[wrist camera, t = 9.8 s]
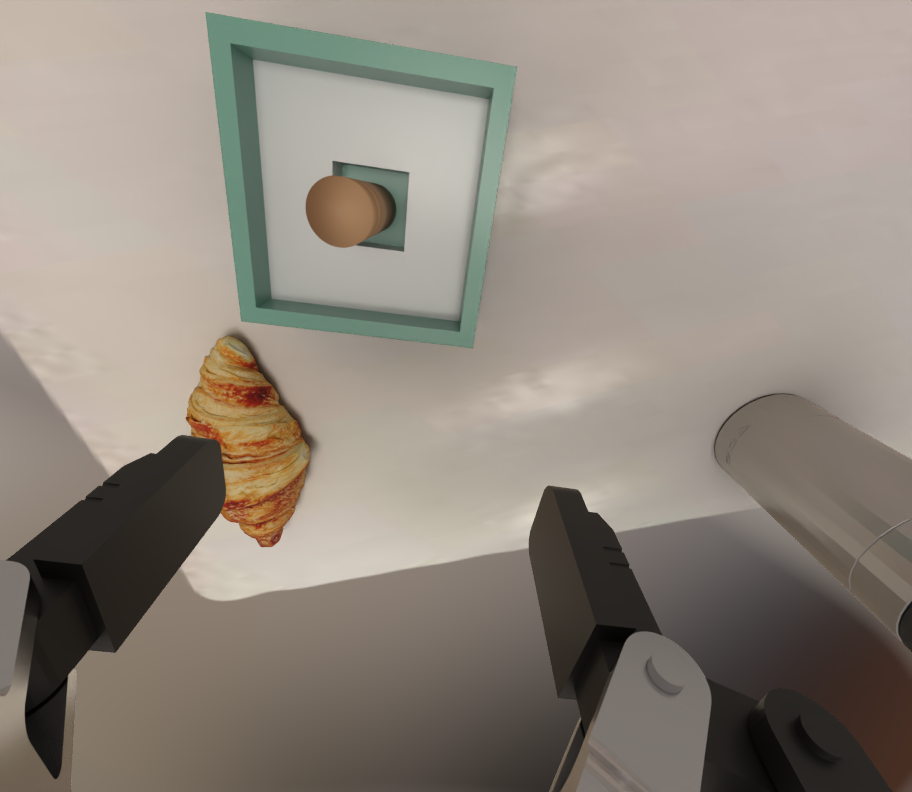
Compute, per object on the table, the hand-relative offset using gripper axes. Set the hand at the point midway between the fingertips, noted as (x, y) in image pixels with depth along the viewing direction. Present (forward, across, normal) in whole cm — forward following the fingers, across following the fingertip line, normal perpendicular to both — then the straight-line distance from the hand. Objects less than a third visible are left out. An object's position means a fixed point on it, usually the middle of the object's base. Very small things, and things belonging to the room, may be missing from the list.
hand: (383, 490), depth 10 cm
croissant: (+23, +14, +16) cm, 31 cm away
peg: (+22, +5, -5) cm, 23 cm away
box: (+23, +5, -5) cm, 24 cm away
